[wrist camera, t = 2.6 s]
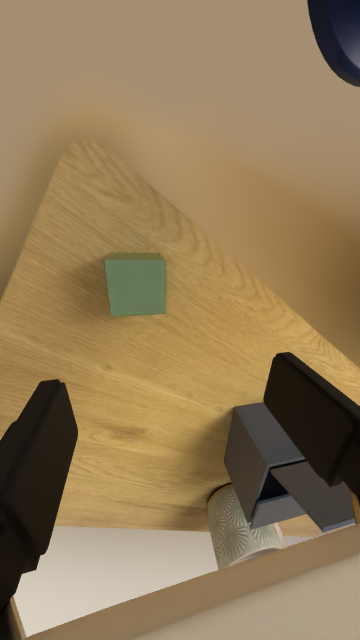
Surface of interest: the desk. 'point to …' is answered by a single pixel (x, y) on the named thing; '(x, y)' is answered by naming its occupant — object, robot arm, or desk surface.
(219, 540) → the planter
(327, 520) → the flap
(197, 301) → the desk surface
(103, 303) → the desk surface
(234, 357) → the desk surface
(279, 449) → the carton
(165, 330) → the desk surface
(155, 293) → the block
